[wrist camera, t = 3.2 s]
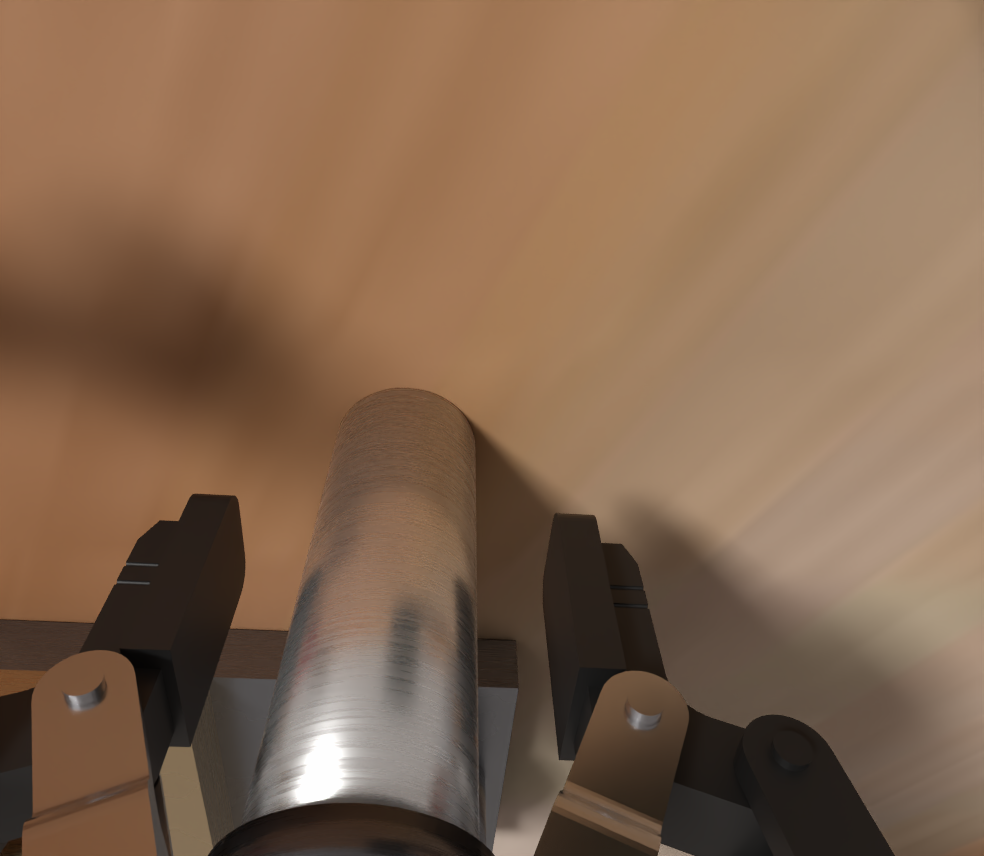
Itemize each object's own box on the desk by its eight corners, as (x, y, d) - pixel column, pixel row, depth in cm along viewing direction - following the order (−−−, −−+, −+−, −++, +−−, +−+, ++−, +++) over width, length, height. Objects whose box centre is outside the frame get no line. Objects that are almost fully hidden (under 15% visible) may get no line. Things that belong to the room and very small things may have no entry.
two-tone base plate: (515, 641, 21) (526, 827, 17) (489, 811, 25) (493, 993, 21) (-384, 604, 19) (-620, 799, 15) (-243, 792, 24) (-395, 983, 19)
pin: (495, 380, 16) (523, 882, 8) (482, 514, 18) (492, 1027, 10) (319, 369, 16) (158, 875, 8) (325, 506, 18) (202, 1026, 10)
